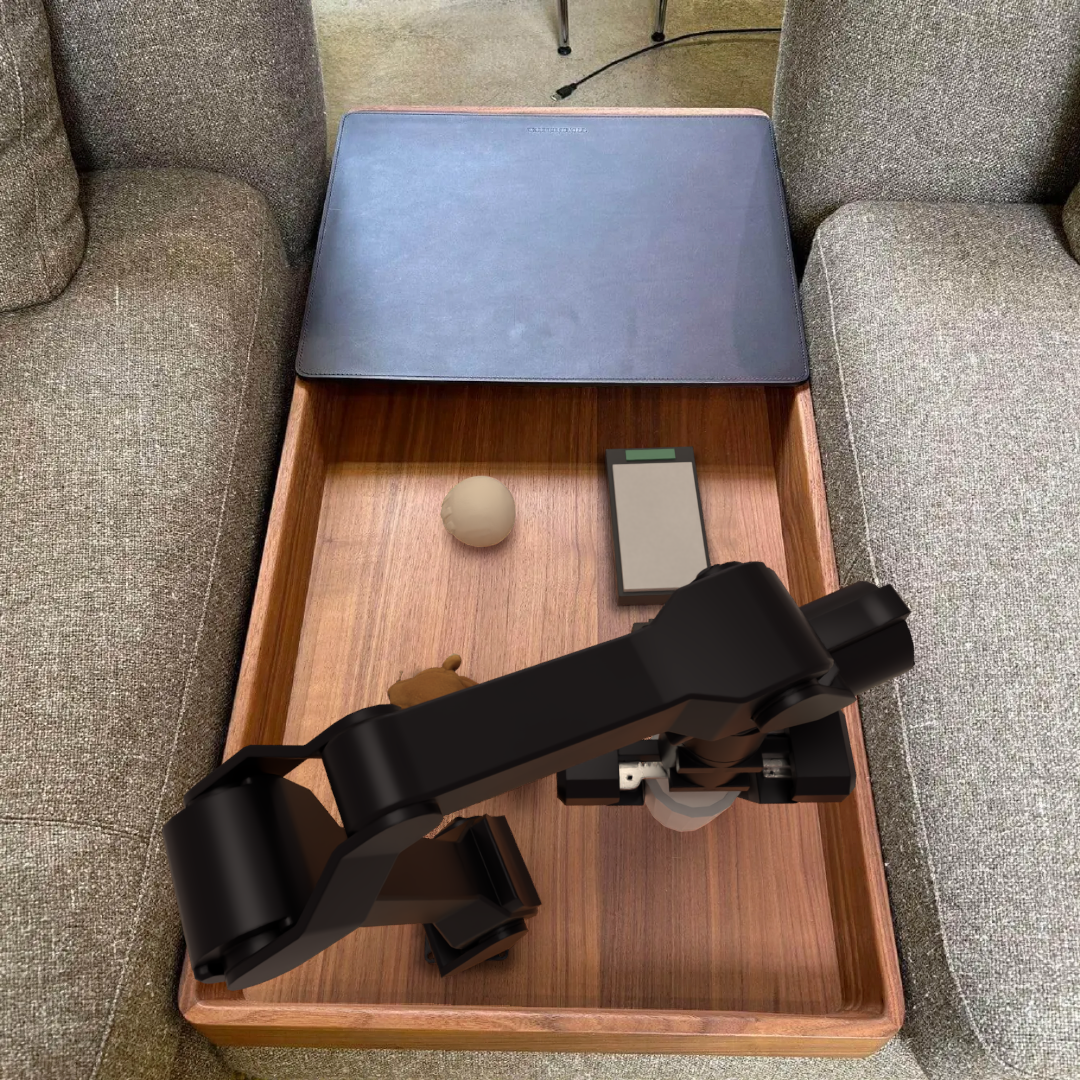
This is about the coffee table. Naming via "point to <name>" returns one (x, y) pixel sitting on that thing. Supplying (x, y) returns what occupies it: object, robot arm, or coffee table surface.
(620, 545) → the kitchen scale
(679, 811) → the shot glass
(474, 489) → the beige round ball
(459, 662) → the stuffed squirrel
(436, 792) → the robot arm
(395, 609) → the coffee table surface
